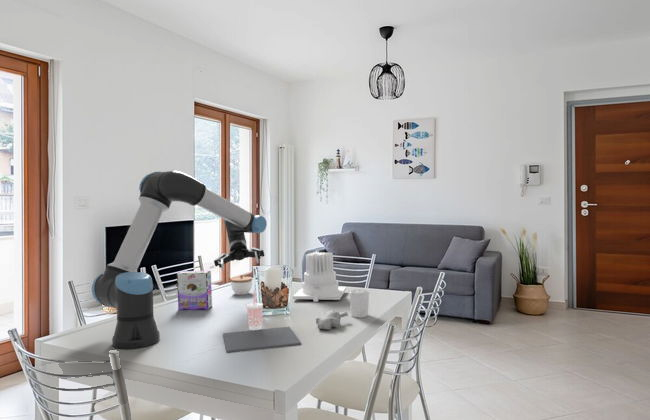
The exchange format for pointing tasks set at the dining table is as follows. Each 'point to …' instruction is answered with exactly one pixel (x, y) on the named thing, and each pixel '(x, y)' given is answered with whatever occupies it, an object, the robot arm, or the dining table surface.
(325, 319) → the bunny figurine
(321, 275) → the white finned lamp
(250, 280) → the lidded jar
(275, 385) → the dining table surface
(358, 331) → the dining table surface
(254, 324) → the beverage cup
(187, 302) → the candy box
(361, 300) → the white cup
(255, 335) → the mat
